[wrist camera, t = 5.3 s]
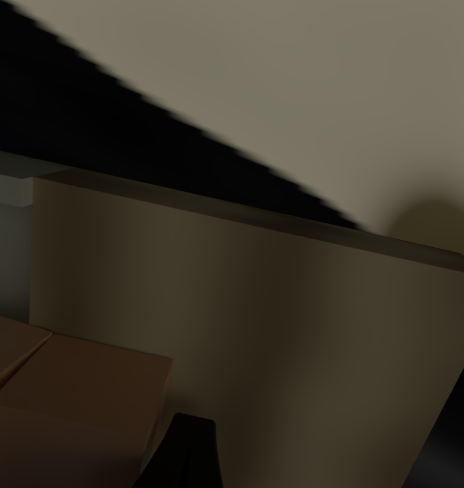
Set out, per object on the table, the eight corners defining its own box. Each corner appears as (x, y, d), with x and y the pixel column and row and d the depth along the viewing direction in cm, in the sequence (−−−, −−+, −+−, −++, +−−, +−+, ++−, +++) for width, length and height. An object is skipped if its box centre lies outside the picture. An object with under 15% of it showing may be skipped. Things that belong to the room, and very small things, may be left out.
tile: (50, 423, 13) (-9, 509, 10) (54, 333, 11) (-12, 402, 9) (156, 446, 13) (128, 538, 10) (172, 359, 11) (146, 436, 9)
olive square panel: (56, 456, 17) (24, 510, 14) (75, 167, 12) (32, 176, 10) (339, 516, 17) (353, 579, 15) (459, 252, 12) (508, 282, 10)
